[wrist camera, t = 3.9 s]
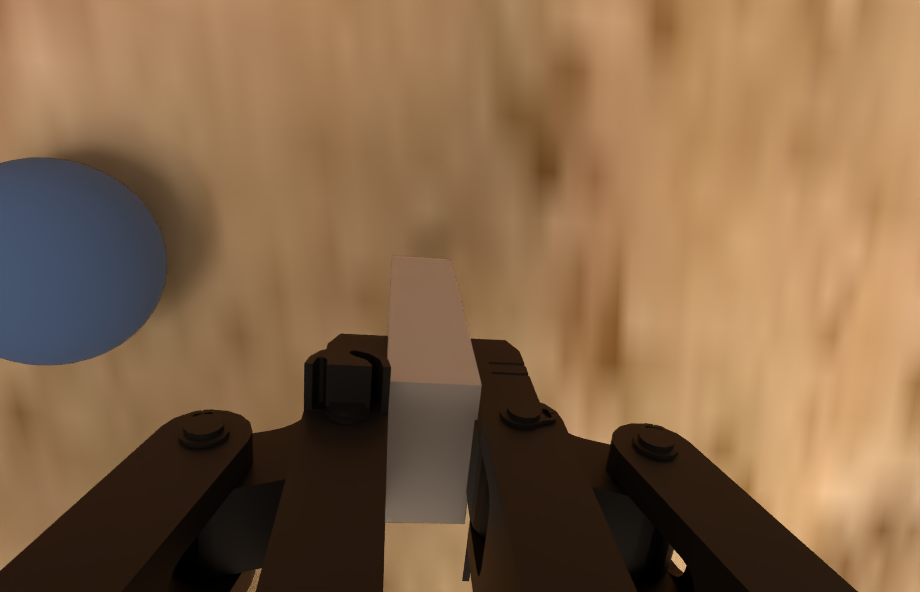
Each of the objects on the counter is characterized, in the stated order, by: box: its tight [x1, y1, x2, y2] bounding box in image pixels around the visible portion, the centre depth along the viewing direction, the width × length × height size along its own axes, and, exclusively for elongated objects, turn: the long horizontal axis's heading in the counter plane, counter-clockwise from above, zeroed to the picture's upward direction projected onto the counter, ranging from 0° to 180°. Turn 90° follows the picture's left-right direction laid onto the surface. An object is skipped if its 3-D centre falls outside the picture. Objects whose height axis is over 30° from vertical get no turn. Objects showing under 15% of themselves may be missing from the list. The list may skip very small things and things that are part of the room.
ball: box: [0, 158, 167, 365], centre depth 17 cm, size 6×6×6 cm
